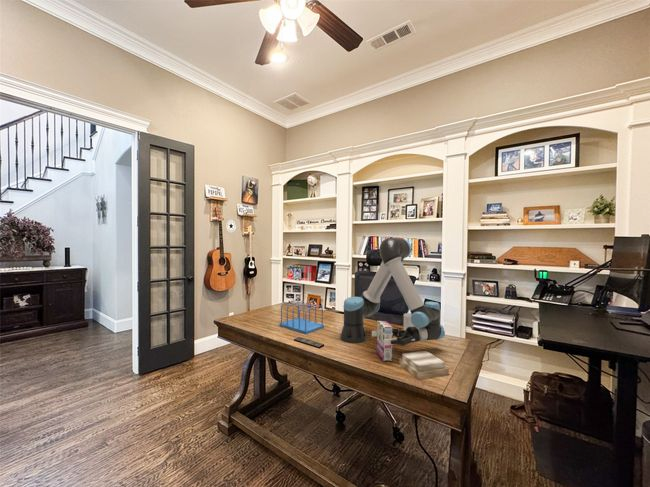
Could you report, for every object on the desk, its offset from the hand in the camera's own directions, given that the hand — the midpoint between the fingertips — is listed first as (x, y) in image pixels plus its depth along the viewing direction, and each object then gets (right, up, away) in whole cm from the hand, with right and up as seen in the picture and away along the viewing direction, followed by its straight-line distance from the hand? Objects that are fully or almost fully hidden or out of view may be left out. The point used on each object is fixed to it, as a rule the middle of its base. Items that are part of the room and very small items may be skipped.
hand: (377, 338), depth 134 cm
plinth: (+18, -10, -12) cm, 24 cm away
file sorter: (-42, -10, +48) cm, 64 cm away
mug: (+29, -10, +38) cm, 49 cm away
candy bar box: (+4, -10, +1) cm, 11 cm away
